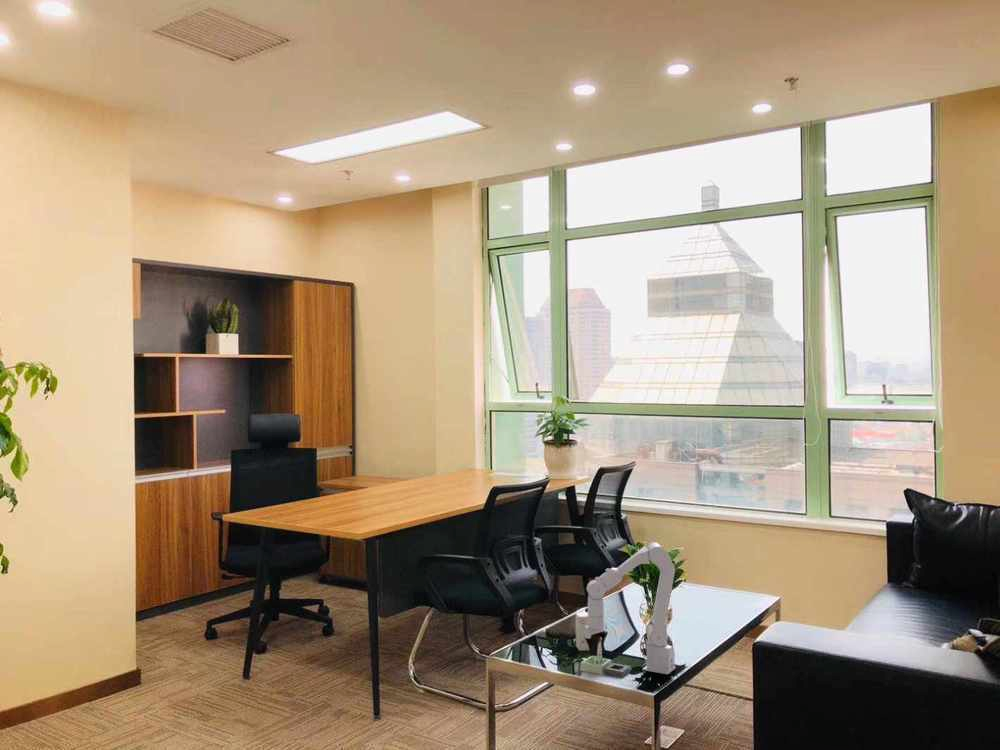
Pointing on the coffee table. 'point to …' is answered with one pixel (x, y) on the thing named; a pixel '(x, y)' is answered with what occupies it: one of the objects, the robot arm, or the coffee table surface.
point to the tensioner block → (617, 670)
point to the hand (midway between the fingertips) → (596, 653)
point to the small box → (581, 630)
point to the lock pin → (598, 653)
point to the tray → (594, 665)
